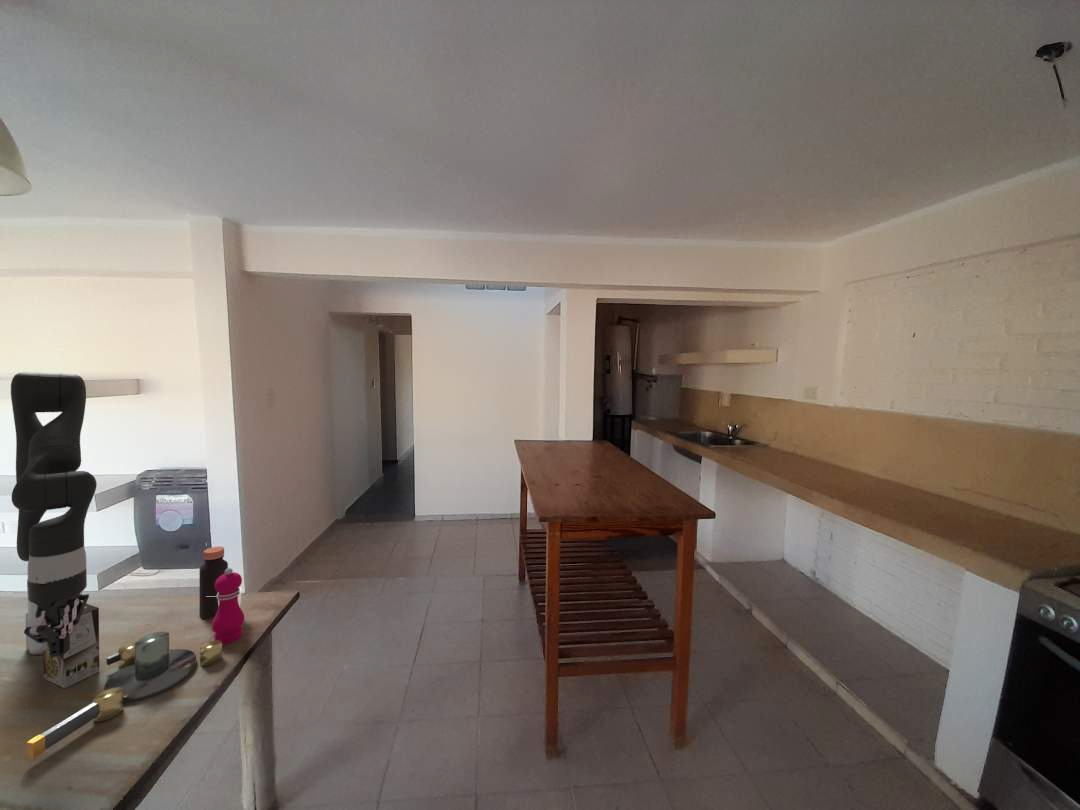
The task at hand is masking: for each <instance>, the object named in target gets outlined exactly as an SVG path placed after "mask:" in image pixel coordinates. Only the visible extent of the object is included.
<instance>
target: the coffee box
mask: <svg viewBox="0 0 1080 810" xmlns="http://www.w3.org/2000/svg"><path fill="white" fill-rule="evenodd" d="M99 610H100V608H99V607H98V606H95V605H92V604H89V603H86V605H85V608H84V610H83V613H82V615H81V618H80V620H79V623H78V624H77V625H74V626H73V630H72V632H71V633H70V650H69V651H68V652H66V653H65V654H64V655H63V656H57V657H51V656H50V654H49V652H50V651H49V650H50V649H49V642H43V654H42V661H43V679H45V680H46V681H49V682H51V683H52V684H54V685H57V686H59V687H61V688H63V689H66V688H68V687H70V686H73V685H74V684H76V683H79V682H81V681H83V680H85V679H87V678H89V677H92V676H94V675H95V674H98V673H99V672H100V613H99V612H100V611H99Z"/></svg>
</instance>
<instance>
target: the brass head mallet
mask: <svg viewBox="0 0 1080 810" xmlns="http://www.w3.org/2000/svg"><path fill="white" fill-rule="evenodd" d="M123 710H124V703H123V689H122V688H120V687H117V688H112V689H108V690H106V691H104V690H103V691H102V692H100V693H99V694H97V695H96V696H95V697H94V698H93V700H92V703H90V704H88V705H87V706H85V707H83V708H81V709H80V710H78V711H77V712H75V713H74V714H72V715H70V716H69V717H67V718H65V719H64V720H62V721H61V722H59V723H57V724H56V725H54V726H53V727H51V728H49V729H47V730H46V731H44V732H43V733H41V734H38V735H36V736H35V737H33V738H31V739H29V740H28V741H27V744H26V745H27V749H26V751H27V753H26V754H27V758H30V759H35V758H37V757H38V756H40V755H42V754H43V753H45V752H46V750H48V749H49V748H51V747H53V746H55V744H57V743H59V742H60V741H62V740H63V739H65V738H67V737H68V736H69V735H71V734H73V733H75V732H76V731H77V730H79V729H80V728H82V727H83V726H85V725H87V724H88V723H90V722H91V721H94V722H98V723H99V722H103V721H107V720H109V719H112V718H114V717H116V716H117V715H119V714H120V713H121V712H122V711H123Z"/></svg>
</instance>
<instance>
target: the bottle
mask: <svg viewBox="0 0 1080 810" xmlns="http://www.w3.org/2000/svg"><path fill="white" fill-rule="evenodd" d="M224 557H225V547H224V546H212V547H208V548H207V549H205V550H203V561H204V562H203V564H202V565H201V566H199V617H200V618H201V619H204V618H205V619H207V618H209V619H214V617H215V615H216V613H217V611H218V608H219V605H218V599H217V597H206V596H217V593H218V591H216V589H215V582H216V580H217V579H218V578H219V577H220V576H221V575H223V574H225V570H226V569H228V568H229V562H228V561H227V560H225V559H224Z"/></svg>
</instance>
